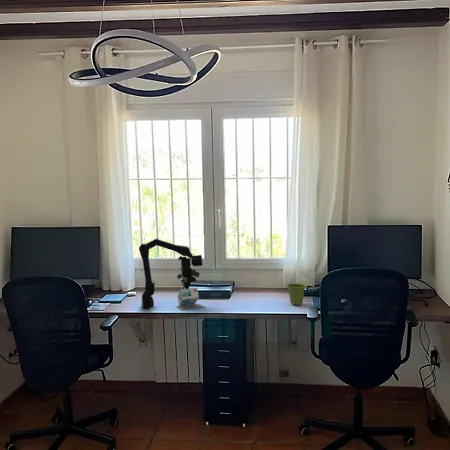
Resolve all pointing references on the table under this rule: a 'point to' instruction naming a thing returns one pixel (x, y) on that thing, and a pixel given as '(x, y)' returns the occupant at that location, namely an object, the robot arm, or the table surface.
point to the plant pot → (296, 293)
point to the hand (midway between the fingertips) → (186, 291)
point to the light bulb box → (188, 296)
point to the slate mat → (190, 307)
